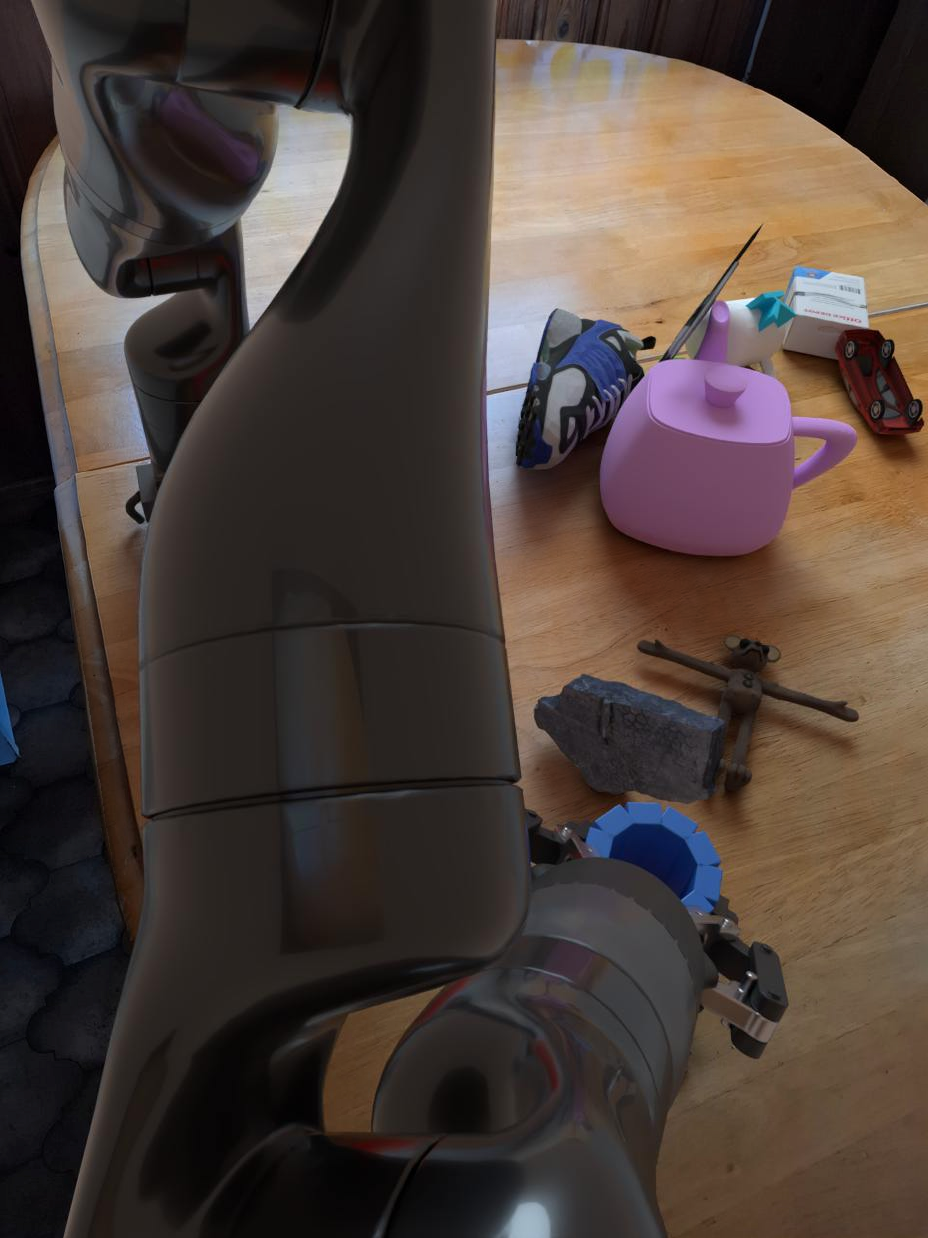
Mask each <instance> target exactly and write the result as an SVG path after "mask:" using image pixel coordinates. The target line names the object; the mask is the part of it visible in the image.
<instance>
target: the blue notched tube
mask: <svg viewBox="0 0 928 1238" xmlns="http://www.w3.org/2000/svg"><path fill="white" fill-rule="evenodd" d="M662 809H663V808H662V803H660V802H637V801H634V802H633V801H628V802H626V804H625V806H624V807H623V806H622V805H621V804H617V805H615V806H614V807H613V808H611V809H610V810H608V811H607V812H605V813H604V814H603V815H601V816H599V817H598V818H597V819H595V820H594V821H593V823H594V824H593V826H592V827H590V828H589V831H588V833H587V836H586V840H585V843H588V844H590V845H593V846H595V847H596V848H597V849H598V851H599V853H600V854H601V856H602V857H603V858H611V859H617V860H621V861H625V862H628V863H631V864H633V865H635V866H638V867H640V868H642V869H644V870H646V871H648V872H649V873H651V874H652V875H654V876H655V877H657V878H658V879H660V880H661V881H662V882H663V883H664V884H666V885H667V886H668V887H669V888H670V889H671V890H672V891H673V892H674V893H675V894H676V895H677V897H678V898H679V899H680V900H681V901H682V903H683V904H684V905H698V906H700V907H701V908H702V909H703V910H705V911H706V912H707V913H709V914H710V915H711V913H712V912H713V910H714V907H715V906H716V904H717V903H718V902H719V895H721V888H722V881H723V874H724V873H723V872H724V871H723V870H724V869H722V868H719V867H720V865H721V864H722V860H721V858H720V856H719V853H717V851H716V849H715V847H714V845H713V843H712V841H711V839H710V838H709V835H708V834H707V832H706V830H701V831H698V832H696V831H697V830H698V828H699V824H698V823H697V822H695V821H694V820H692V819H691V818H690V817H687V816H686V815H684V814H683V813H681V812H679V811H678V810H676V809H674V808H673V807H671V806H669V805H667V807H665V810H664V811H663V810H662Z"/></svg>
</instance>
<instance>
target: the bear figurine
mask: <svg viewBox="0 0 928 1238" xmlns="http://www.w3.org/2000/svg"><path fill="white" fill-rule="evenodd" d="M723 645H724V647H725V648H726V649H727V650H729V651H732V653H731V661H732V662H731V663H732V664H733V666H734V667H735V668H727V667H725V666H723V665H721V664H720V663H714V662H713V661H707V660H702V659H700V658H697V657H695V656H692V655H689V654H686V653H684V652H681V651H678V650H675V649H672V648H670V647H668V646H666V645H665V644H664V643H663V642H662V641H661V640H660V639H658V638H655V639H654V642H652V641H649V640H645V639H642V640H640V641H639V642H637V645H636V648H637V650H638V652H640V653H641V654H644V655H646V656H650V657H654V658H657V659H661V660H665V661H668V662H672V663H675V664H677V665H680V666H683V667H685V668H688V669H690V670H692V671H696V672H698V673H700V674H701V673H702V674H703V675H707V676H708V677H710V678H711V677H712V678H714V679H717V680H720V681H723V682H725V688H724V690H723V693H722V695H721V697H720V705H719V709H718V712H717V716H716V718H718V719H721V720H723V721H725V723H726V735H727V733H728V730H729V726H730V721H731V717H732V715H734V716H737V717H739V718H740V717H741V720H740V724H739V727H738V728H739V729H738V732H737V736H736V740H735V745H734V749H733V752H732V756H731V760H730V764H729V766H728V767H727V763H726V761H725V759H724V758H721V761H720V764H719V767H718V770H717V772H716V777H715V780H716V781H717V780H718V779H719V778H720V777H721V776H722V775H723V774H724V773H725V771H726V773H725V779H724V782H723V787H724V788H725V789H726V790H728V791H730V792H734V793H738V792H739V791H740V790H741V789H742V788H744V787H745V786H748V785H749V784H750V782H751V781H752V779H753V772H752V770H751V769H749V768H746V767H747V765H746V764H747V763H746V762H747V761H746V760H747V756H748V752H749V749H750V745H751V739H752V734H753V730H754V726H755V722H756V717H757V714H758V711H759V709H760V707H761V704H762V698H763V695H765V696H768V697H771V698H772V699H775V700H777V701H782V702H783V701H784V702H788V703H791V704H795V705H799V706H802V707H806V708H809V709H812V710H815V711H818V712H821V713H824V714H827V715H828V716H831V717H834V718H836V719H838V720H841V721H844V722H847V723H856V722H858V721H859V719H860V715H859V712H858V711H857V710H856V709H854V708H852V707H848V706H847V705H848V704H849V703H848V701H846V700H837V701H835V700H834V701H833V700H832V701H831V700H826V699H822V698H819V697H816V696H813V695H810V694H807V693H806V692H801V691H796V690H793V689H791V688H788V687H786V686H783V685H780V683H779V682H776V681H765V680H764V679H763V677H761V676H760V675H759V673H761V672H762V671H763V670H764V669H765V668H766V667H767V665H768V663H770V664H774V663H777V662H778V661H779V660H781V657H782V652H781V650H780V649H779V648H778V647H777V646H775V645H772V644H765V643H762V642H761V641H758V640H755V639H749V638H746V637H740V636H739V635H735V634H730V635H727V636H726V637H724V639H723ZM726 738H727V736H726V737H725V739H726ZM725 744H726V740H725V741H724V745H725Z"/></svg>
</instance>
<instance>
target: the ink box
mask: <svg viewBox="0 0 928 1238" xmlns="http://www.w3.org/2000/svg"><path fill="white" fill-rule="evenodd" d="M866 291H867V290H866V279H865V278H864V277H862V276H858V275H857V276H856V275H851V274H846V273H845V274H844V273H840V272H833V271H829V270H824V269H817V268H811V267H805V266H800V265H796V266H794V268H793V270H792V273H791V276H790V278H789V281H788V285H787V287H786V291H785V292H784V294H785V296H783V301H782V302H783V303H785V304H786V305H787V306H789V307H790V308H791V309H793V310H794V312H795V314H796V316H795V317H794V318H792V319H791V320H789V321H788V322H786V333H785V337H784V341H783V344H782V349H783V350H786V351H791V352H796V353H802V354H807V355H811V356H817V357H821V358H827V359H830V360H831V359H832V360H835V361H839V360H838V356H837V354H836V352H835V350H834V349H835V346H836V343H837V341H838V339H839V336H840V334H841V333H842V332H843V331H844V330H851V329H871V328H870V322H869V321H870V320H869V312H868V301H867V292H866Z"/></svg>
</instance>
